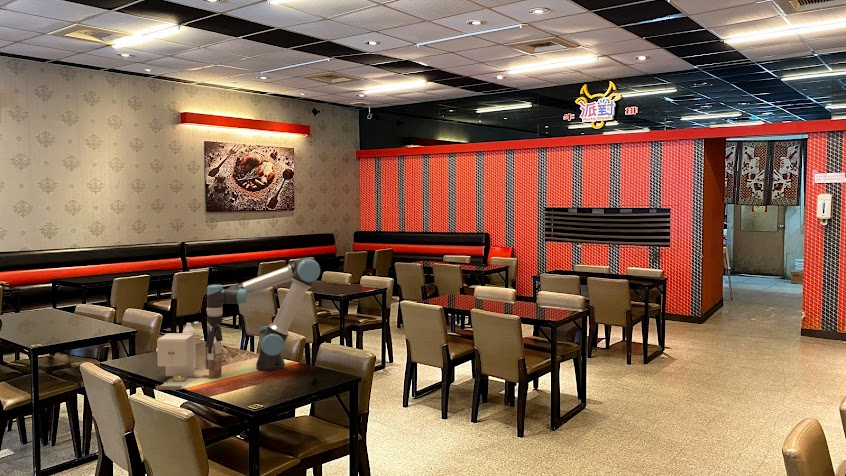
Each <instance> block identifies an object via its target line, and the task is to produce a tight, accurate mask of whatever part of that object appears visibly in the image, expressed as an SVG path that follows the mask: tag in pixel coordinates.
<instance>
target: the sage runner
mask: <svg viewBox="0 0 846 476" xmlns="http://www.w3.org/2000/svg"><path fill="white" fill-rule="evenodd" d="M194 379H195V378H186V381H183V382H174V381H173V377H171V378H169V379H167V380H166V381H167V382H168V383H167V382H166V381H165V382H163V384H160V385H156V386H155V390H156V391H157V390H162V391H163V390H167V391H170V390H173V391H174V390H176V391H177V390H181V391H182V389H184V388H185V387H186V386H187V385H188V384H190V383H192V381H193V380H194Z"/></svg>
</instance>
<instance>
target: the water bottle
mask: <svg viewBox="0 0 846 476" xmlns="http://www.w3.org/2000/svg"><path fill="white" fill-rule="evenodd" d="M193 325H199V321H194V322H193ZM182 333H194V370H196V368H197V366H196V362H197V361H196V357H197V356H196V355H197V354H196V330H195V329H194V327H193V326H192V322H186V325H185V327H184V329H183V330H182Z"/></svg>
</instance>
